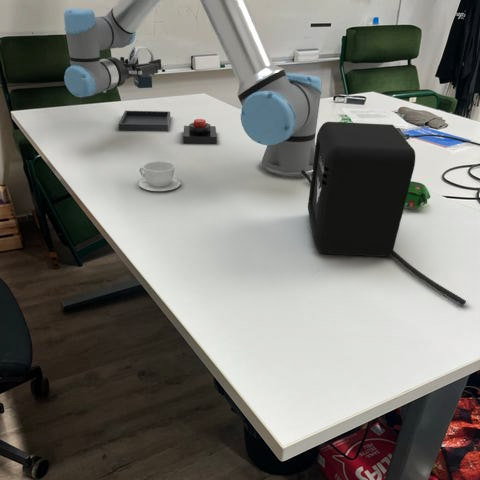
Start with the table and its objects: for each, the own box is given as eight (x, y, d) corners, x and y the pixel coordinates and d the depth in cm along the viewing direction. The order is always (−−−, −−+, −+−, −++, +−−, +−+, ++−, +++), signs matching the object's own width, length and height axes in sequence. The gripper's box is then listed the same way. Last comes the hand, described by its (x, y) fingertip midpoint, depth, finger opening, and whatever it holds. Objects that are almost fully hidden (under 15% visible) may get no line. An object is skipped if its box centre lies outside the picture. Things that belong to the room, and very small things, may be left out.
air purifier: (305, 213, 106) (317, 118, 94) (371, 216, 106) (391, 121, 94) (312, 257, 90) (328, 149, 78) (390, 261, 89) (418, 153, 78)
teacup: (186, 181, 119) (185, 162, 116) (171, 195, 111) (170, 175, 108) (149, 175, 121) (147, 157, 118) (131, 189, 113) (129, 170, 110)
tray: (168, 131, 154) (167, 124, 153) (118, 130, 153) (118, 124, 151) (170, 117, 168) (170, 111, 167) (125, 116, 167) (124, 110, 166)
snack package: (362, 191, 117) (366, 171, 114) (428, 203, 113) (434, 181, 110) (356, 202, 112) (360, 180, 109) (425, 214, 108) (432, 192, 105)
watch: (128, 84, 152) (124, 45, 146) (152, 83, 155) (150, 45, 148) (132, 88, 148) (129, 48, 141) (157, 87, 151) (155, 47, 144)
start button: (205, 128, 145) (205, 122, 144) (194, 127, 145) (193, 121, 144) (205, 124, 148) (205, 119, 147) (194, 124, 148) (193, 118, 147)
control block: (216, 144, 144) (216, 130, 142) (183, 143, 144) (183, 130, 141) (215, 133, 154) (215, 120, 152) (184, 132, 153) (183, 119, 151)
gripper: (79, 84, 139) (122, 72, 156) (141, 92, 134) (177, 79, 151) (75, 55, 135) (119, 46, 152) (138, 62, 129) (176, 52, 147)
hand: (148, 62), depth 152 cm, fingers closed on watch, 7 cm apart
